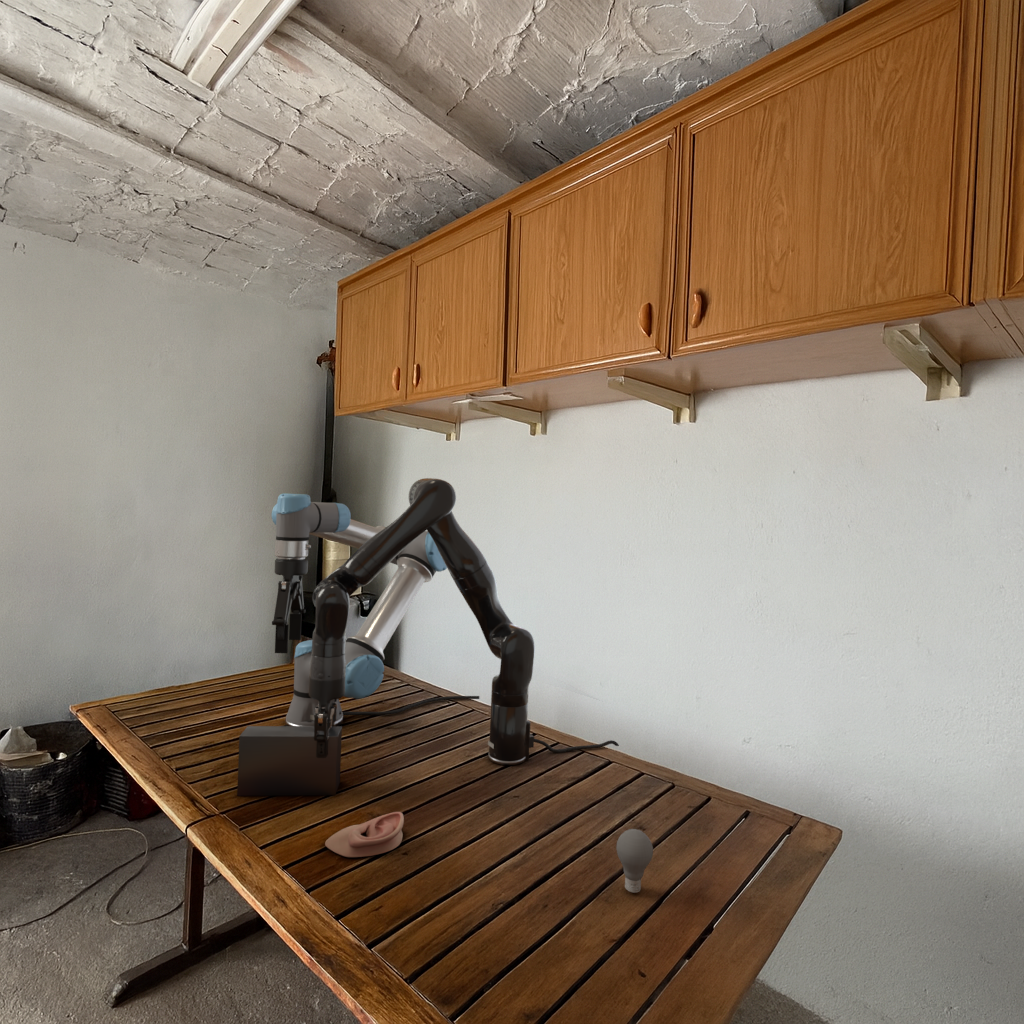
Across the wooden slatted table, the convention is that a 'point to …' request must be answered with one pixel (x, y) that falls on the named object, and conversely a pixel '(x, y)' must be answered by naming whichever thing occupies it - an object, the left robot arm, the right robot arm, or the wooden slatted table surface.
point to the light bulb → (634, 857)
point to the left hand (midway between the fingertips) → (288, 646)
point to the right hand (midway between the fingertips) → (324, 751)
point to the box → (287, 762)
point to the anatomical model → (368, 837)
